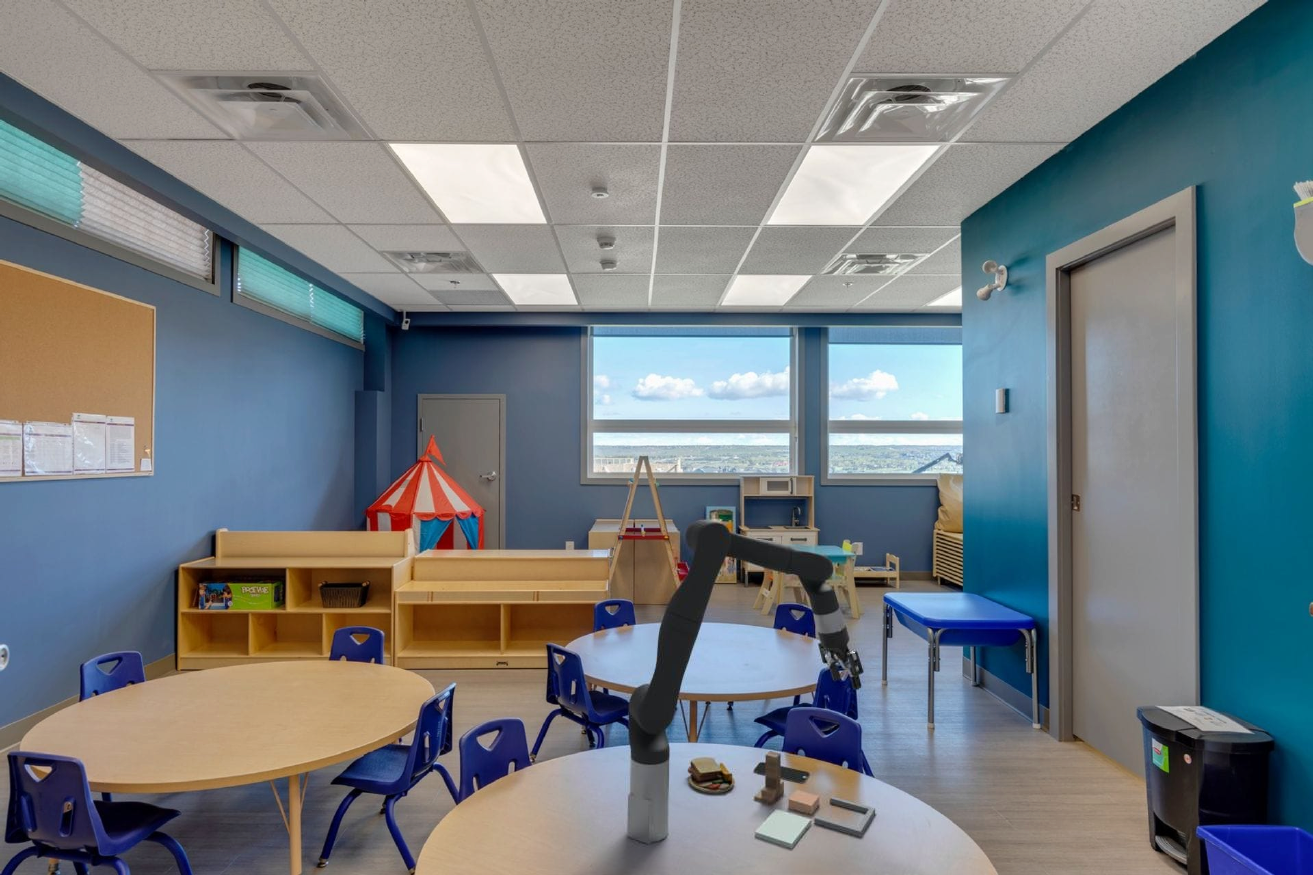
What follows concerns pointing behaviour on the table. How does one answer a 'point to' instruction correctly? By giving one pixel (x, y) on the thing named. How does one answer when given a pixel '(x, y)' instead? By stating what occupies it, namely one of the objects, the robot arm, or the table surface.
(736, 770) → the table surface
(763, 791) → the brown block
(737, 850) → the table surface
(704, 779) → the toy sandwich meal
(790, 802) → the tile
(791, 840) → the board
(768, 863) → the table surface
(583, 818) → the table surface
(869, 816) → the bay
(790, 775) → the smartphone
